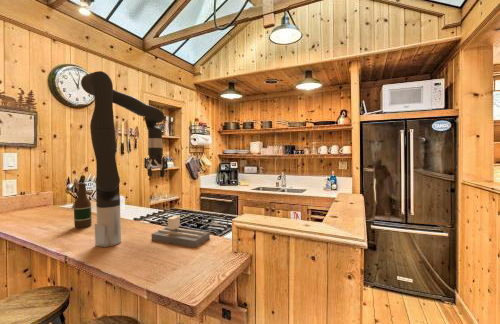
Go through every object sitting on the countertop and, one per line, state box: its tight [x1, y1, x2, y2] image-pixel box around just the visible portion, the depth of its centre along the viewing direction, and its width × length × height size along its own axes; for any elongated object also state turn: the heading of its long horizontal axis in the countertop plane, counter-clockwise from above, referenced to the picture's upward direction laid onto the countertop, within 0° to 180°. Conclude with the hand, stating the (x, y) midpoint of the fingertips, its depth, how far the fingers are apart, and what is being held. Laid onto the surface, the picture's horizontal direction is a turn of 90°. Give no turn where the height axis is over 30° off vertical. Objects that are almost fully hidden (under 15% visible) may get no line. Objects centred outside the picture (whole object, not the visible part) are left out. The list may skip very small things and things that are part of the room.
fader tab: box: [167, 215, 181, 232], centre depth 117 cm, size 5×3×7 cm, turn 159°
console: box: [151, 226, 211, 249], centre depth 115 cm, size 12×24×4 cm, turn 69°
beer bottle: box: [73, 182, 92, 230], centre depth 134 cm, size 8×8×24 cm
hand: (156, 176), depth 133 cm, fingers open, 8 cm apart
